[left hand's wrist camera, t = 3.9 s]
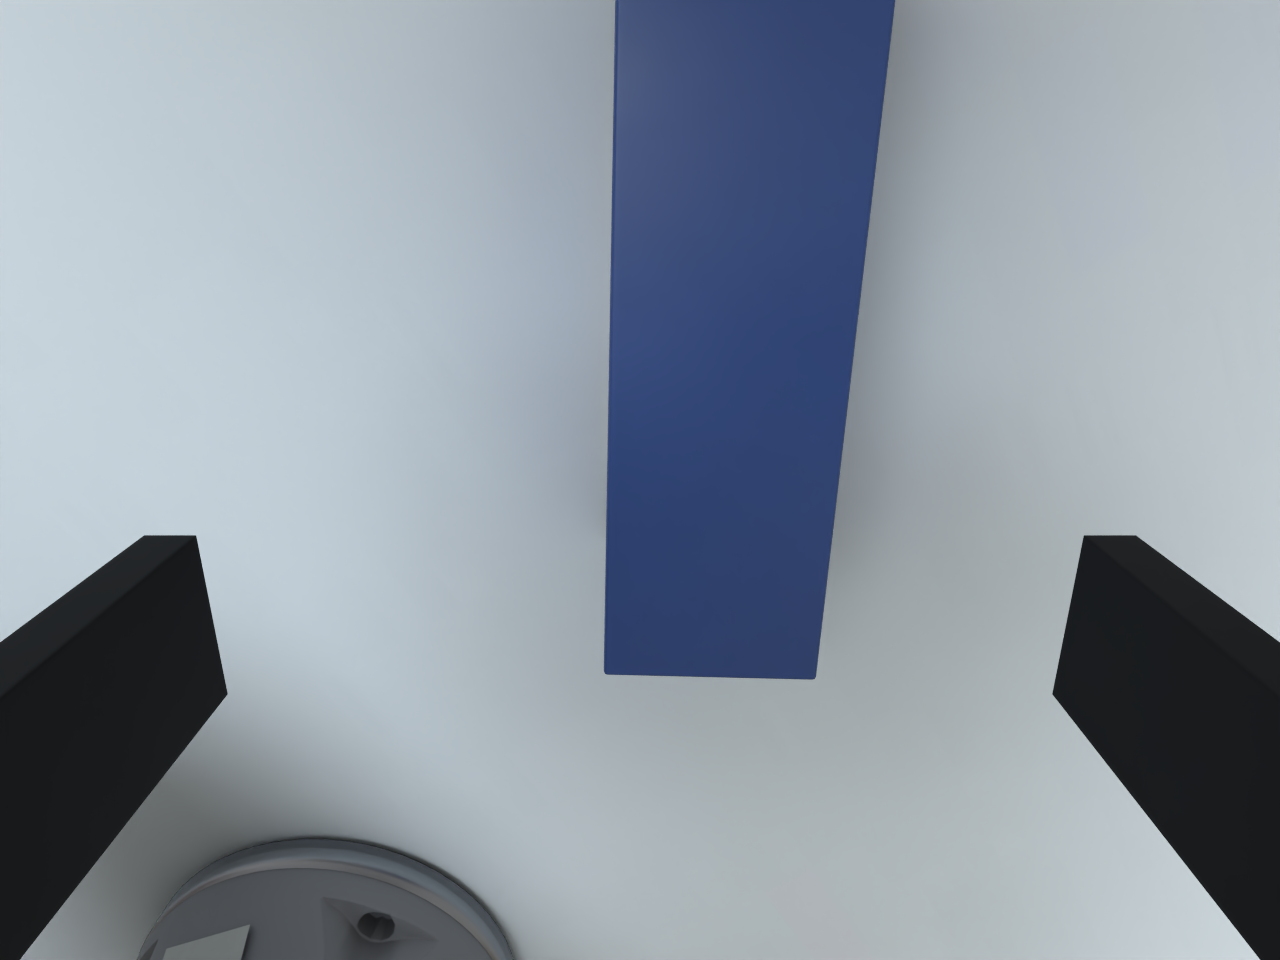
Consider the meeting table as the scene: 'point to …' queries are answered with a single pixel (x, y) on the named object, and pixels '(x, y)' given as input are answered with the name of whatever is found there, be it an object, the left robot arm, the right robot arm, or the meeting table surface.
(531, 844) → the meeting table surface
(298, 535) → the meeting table surface
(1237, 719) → the left robot arm
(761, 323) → the blue block
